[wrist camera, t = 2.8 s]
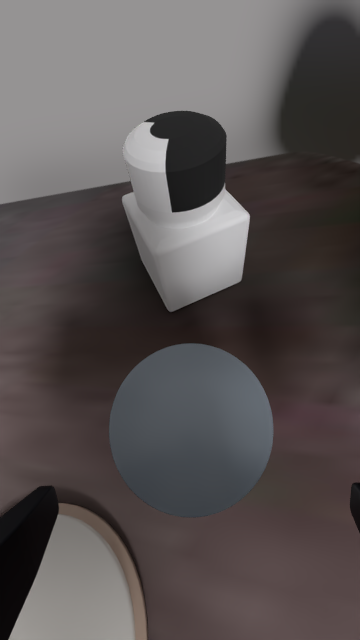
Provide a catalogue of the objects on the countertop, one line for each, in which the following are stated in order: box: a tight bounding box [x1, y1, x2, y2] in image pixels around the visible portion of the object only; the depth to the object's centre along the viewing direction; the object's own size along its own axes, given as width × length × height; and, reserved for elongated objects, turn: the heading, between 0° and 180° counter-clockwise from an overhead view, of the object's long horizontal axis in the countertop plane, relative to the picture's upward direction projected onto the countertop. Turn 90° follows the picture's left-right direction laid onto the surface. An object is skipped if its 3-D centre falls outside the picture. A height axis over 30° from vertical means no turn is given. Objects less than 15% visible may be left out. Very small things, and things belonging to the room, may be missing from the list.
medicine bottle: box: [122, 111, 250, 312], centre depth 20 cm, size 7×7×12 cm
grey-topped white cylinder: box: [109, 343, 273, 517], centre depth 13 cm, size 5×5×11 cm
